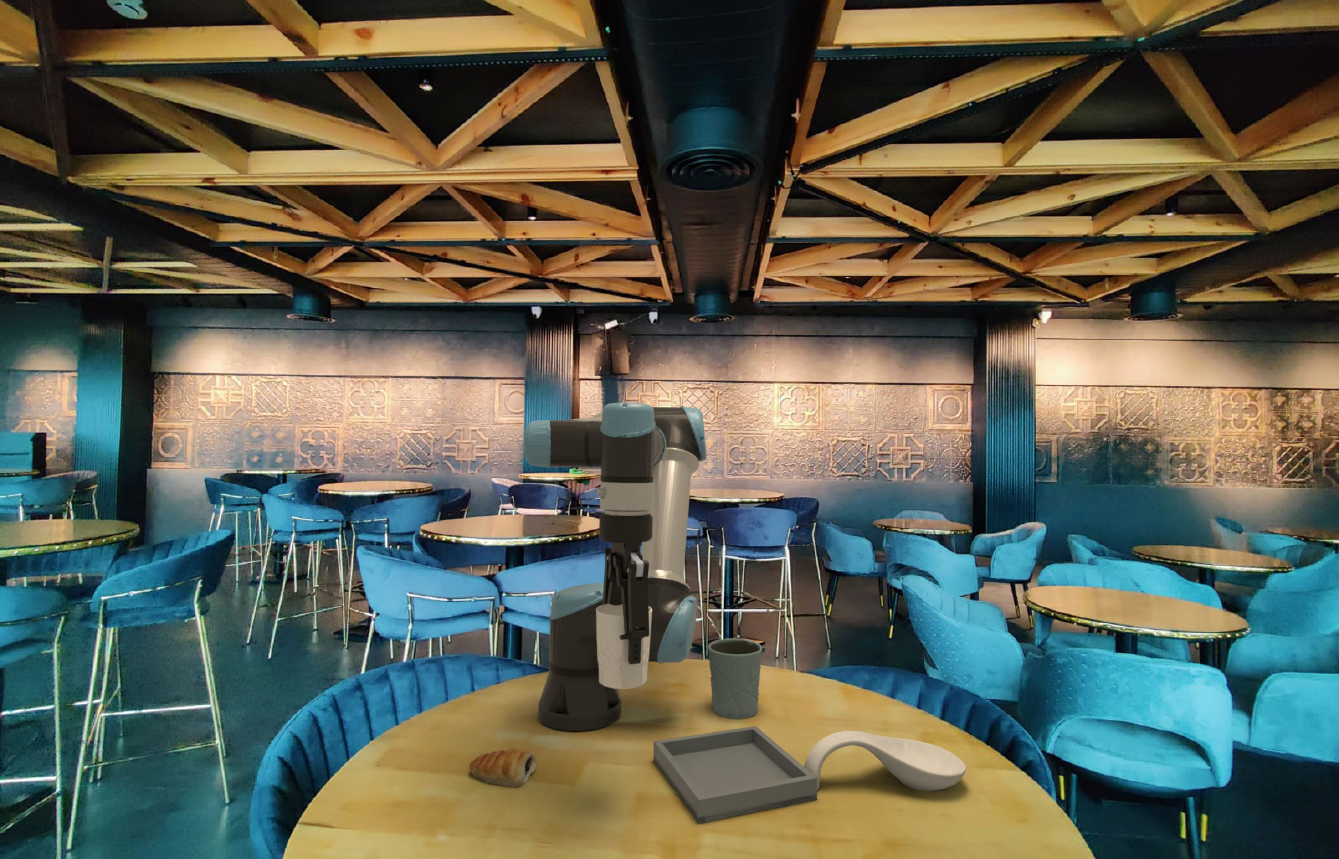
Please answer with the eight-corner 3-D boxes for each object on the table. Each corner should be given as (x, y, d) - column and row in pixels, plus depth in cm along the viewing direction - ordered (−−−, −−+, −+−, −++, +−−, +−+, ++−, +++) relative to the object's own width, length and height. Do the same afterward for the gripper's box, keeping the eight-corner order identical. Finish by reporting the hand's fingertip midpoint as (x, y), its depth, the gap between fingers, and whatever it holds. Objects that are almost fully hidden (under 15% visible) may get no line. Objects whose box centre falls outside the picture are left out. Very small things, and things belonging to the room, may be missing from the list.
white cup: (654, 672, 92) (655, 603, 93) (646, 693, 84) (648, 617, 85) (600, 670, 93) (602, 601, 93) (588, 689, 85) (590, 614, 86)
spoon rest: (937, 761, 101) (938, 715, 102) (983, 801, 90) (983, 749, 90) (795, 767, 98) (795, 720, 99) (822, 809, 87) (823, 756, 87)
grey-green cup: (769, 707, 121) (770, 643, 122) (748, 726, 113) (748, 657, 113) (721, 696, 126) (722, 635, 127) (697, 713, 118) (698, 648, 118)
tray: (653, 760, 99) (653, 741, 99) (755, 744, 105) (755, 726, 105) (698, 823, 82) (699, 800, 82) (817, 799, 88) (817, 778, 89)
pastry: (460, 784, 91) (461, 757, 92) (481, 762, 98) (482, 737, 98) (522, 790, 90) (523, 763, 90) (539, 768, 97) (540, 742, 97)
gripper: (584, 506, 98) (580, 656, 97) (620, 520, 79) (617, 707, 78) (630, 505, 100) (627, 651, 100) (677, 519, 81) (674, 699, 80)
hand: (623, 675), depth 89 cm, fingers closed on white cup, 7 cm apart
